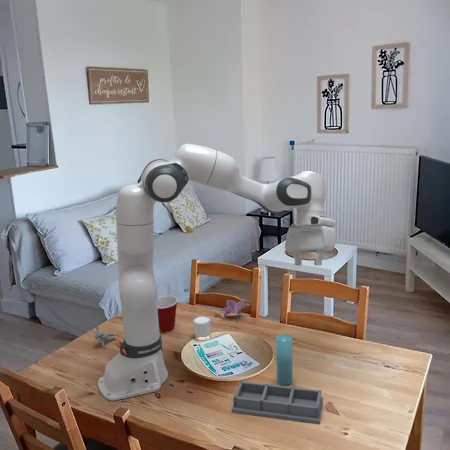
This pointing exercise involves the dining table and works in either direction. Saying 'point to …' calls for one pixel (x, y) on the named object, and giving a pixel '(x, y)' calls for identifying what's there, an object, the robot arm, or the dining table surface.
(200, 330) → the shot glass
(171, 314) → the plastic cup
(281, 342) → the teal cylinder
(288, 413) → the cup rack
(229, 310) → the lily
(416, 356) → the dining table surface
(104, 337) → the grey humanoid figurine
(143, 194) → the robot arm
